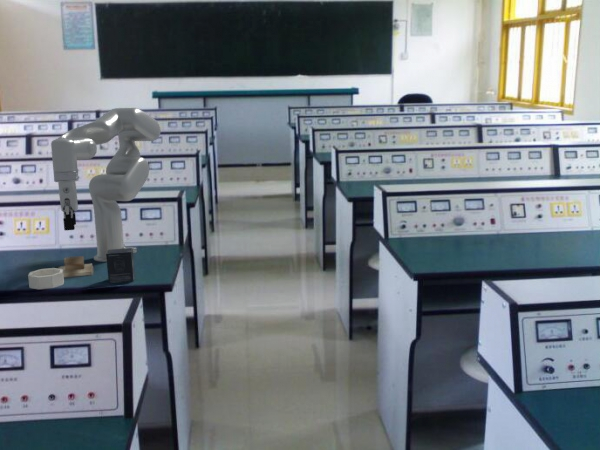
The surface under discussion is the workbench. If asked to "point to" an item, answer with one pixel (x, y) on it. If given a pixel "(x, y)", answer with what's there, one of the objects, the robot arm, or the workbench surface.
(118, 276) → the box
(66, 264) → the beige plate with ridge
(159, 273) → the workbench surface
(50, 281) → the bowl
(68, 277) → the mat
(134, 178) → the robot arm
